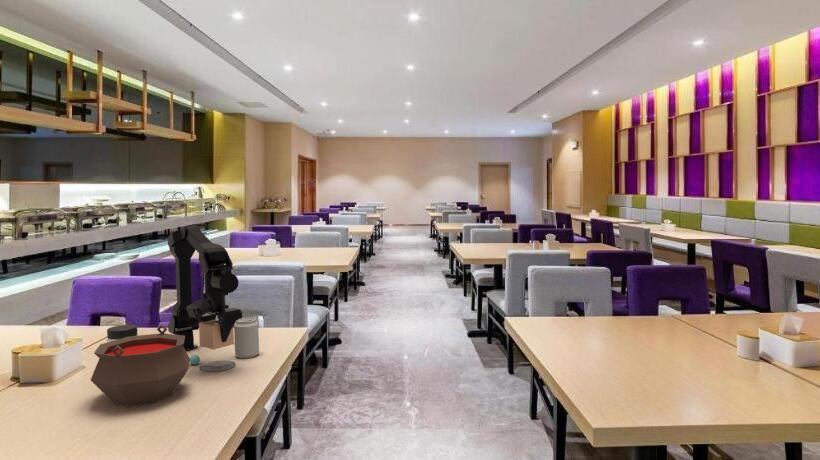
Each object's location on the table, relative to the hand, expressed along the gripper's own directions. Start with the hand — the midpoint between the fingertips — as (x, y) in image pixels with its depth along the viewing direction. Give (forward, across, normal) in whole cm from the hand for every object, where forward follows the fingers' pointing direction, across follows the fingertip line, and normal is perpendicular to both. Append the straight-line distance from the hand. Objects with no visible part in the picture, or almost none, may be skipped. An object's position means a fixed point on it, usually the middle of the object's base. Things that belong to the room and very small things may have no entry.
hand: (216, 340), depth 161 cm
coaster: (+8, 0, 0) cm, 8 cm away
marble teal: (+8, -8, -3) cm, 12 cm away
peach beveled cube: (+2, 0, 0) cm, 2 cm away
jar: (+8, -25, -16) cm, 31 cm away
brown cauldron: (+8, +5, -25) cm, 27 cm away
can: (+8, -2, +12) cm, 15 cm away
